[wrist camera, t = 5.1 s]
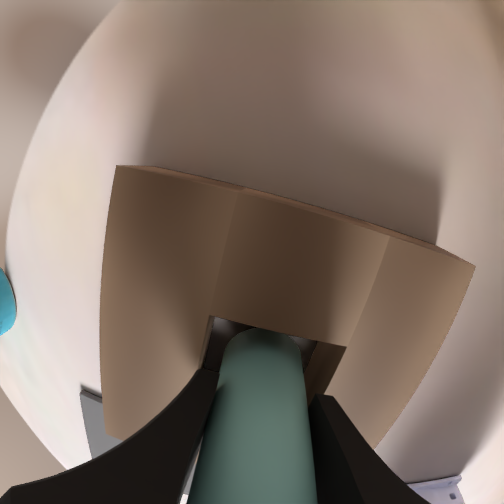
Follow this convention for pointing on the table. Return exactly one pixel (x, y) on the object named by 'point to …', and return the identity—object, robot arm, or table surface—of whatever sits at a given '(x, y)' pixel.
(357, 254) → the hole block
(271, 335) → the peg
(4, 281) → the teal shampoo bottle
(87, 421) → the mat
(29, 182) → the table surface
